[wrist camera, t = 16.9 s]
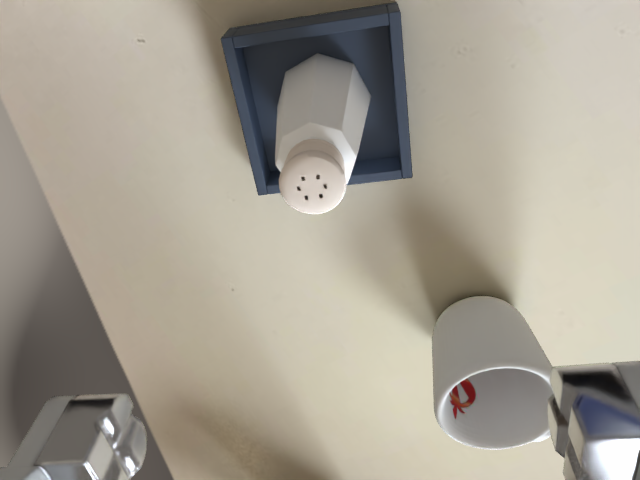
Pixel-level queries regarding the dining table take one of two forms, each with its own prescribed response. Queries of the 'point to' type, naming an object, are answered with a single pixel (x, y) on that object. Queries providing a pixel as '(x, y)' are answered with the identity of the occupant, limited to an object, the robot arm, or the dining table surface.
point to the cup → (489, 375)
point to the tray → (334, 41)
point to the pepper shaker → (319, 131)
